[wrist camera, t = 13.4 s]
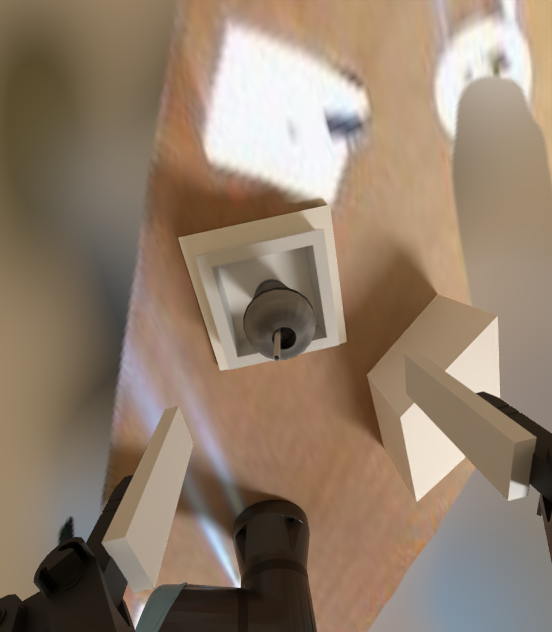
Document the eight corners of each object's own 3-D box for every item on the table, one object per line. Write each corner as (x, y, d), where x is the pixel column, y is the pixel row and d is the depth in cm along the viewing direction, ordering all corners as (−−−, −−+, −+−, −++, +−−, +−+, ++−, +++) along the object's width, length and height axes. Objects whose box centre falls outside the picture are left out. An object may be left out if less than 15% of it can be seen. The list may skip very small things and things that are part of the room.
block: (345, 444, 49) (370, 501, 39) (391, 287, 40) (439, 308, 30) (419, 448, 51) (460, 503, 41) (479, 299, 42) (552, 323, 32)
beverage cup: (281, 327, 39) (309, 421, 20) (236, 305, 37) (221, 386, 18) (306, 284, 37) (363, 343, 18) (260, 259, 35) (270, 296, 17)
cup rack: (344, 339, 42) (359, 357, 36) (220, 367, 41) (216, 389, 36) (327, 205, 35) (342, 201, 29) (179, 237, 35) (165, 239, 29)
